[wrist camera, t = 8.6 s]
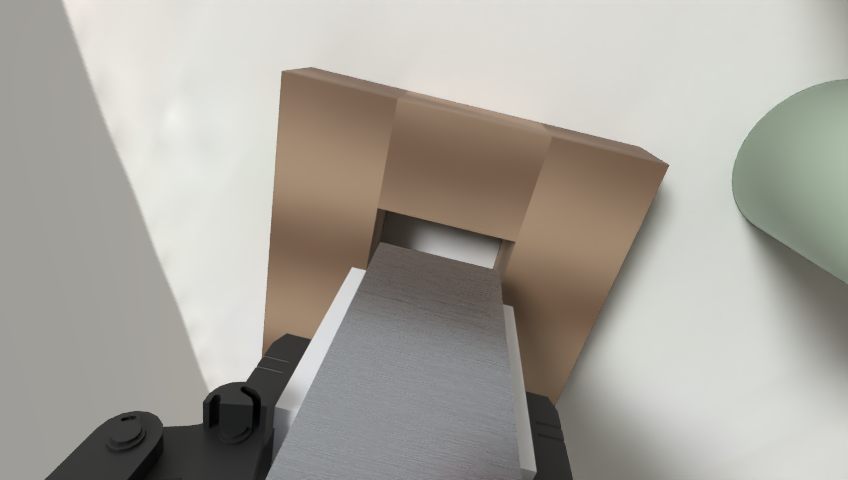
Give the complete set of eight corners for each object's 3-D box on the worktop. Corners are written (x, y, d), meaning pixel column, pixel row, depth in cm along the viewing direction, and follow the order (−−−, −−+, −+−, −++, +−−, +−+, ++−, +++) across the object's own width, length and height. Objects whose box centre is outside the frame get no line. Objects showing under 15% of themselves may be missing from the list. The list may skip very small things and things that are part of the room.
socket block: (531, 394, 24) (539, 439, 21) (285, 333, 24) (260, 370, 21) (639, 147, 18) (669, 165, 15) (311, 67, 18) (281, 70, 15)
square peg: (467, 363, 17) (460, 715, 8) (361, 337, 17) (237, 659, 8) (499, 270, 15) (534, 593, 6) (380, 241, 15) (245, 521, 6)
